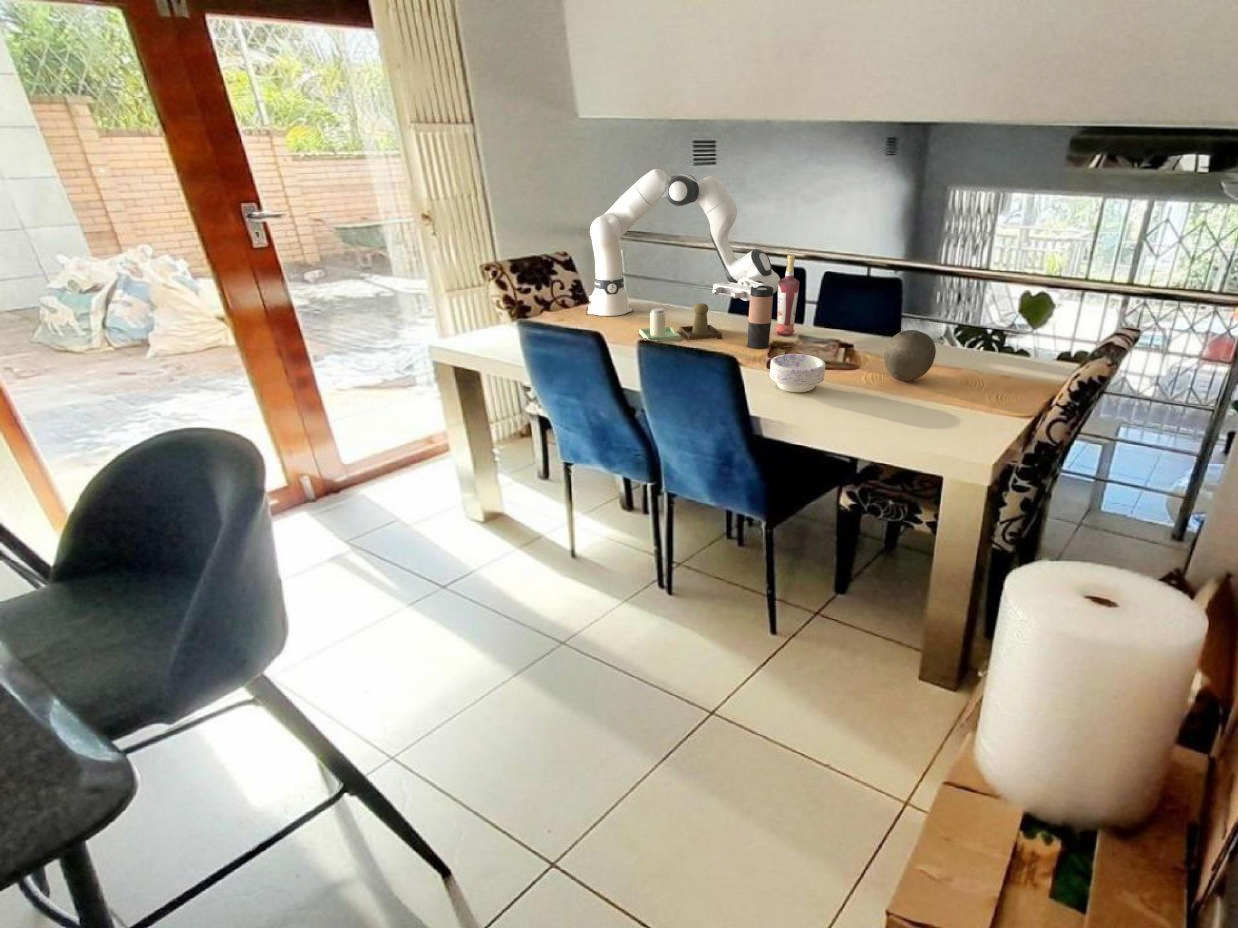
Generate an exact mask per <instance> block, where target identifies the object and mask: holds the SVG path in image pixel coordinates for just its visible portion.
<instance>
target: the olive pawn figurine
mask: <svg viewBox="0 0 1238 928" xmlns="http://www.w3.org/2000/svg"><path fill="white" fill-rule="evenodd" d="M693 312H694V319H693V325H692V326H693V331H692V335H700V334H708V325H709V323H708V312H709V306H708V304H707V303H700V302H699V303H696V304H695V305H694V306H693Z"/></svg>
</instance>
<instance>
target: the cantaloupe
mask: <svg viewBox="0 0 1238 928" xmlns="http://www.w3.org/2000/svg"><path fill="white" fill-rule="evenodd" d="M886 345H887V346H886V348H885V350H884V353H883V362H884V365H885V368H886V371H887V372H888V373H889V375H890V376H891V377H893V378H894V379H895V380H897V381H901V382H911V381H914V380H917V379H920V378H922V377H924V375H926V374H927V373H928V372H929V371H930V369H931V367H932V366H933V364H934V362H935V359H936V354H937V349H936V345H935V342H934V340H933V338H932V337H931V336H930V335H929V334H927V333H925V332H923V331H920V330H917V329H906V330H901V331H899V332H898V333H896V334H894V335H893V336H892V337H891V339H890V340H888V343H887V344H886ZM910 380H911V381H910Z"/></svg>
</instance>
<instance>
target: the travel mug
mask: <svg viewBox="0 0 1238 928" xmlns="http://www.w3.org/2000/svg"><path fill="white" fill-rule="evenodd" d="M773 298H774V293H773V287H771V286H758V287H756V288H754V287H751V292H750V300H749V307H748V324H747V347H749V348H751V349H754V350H755V349H756V350H761V349H762V350H763V349H767V348H769V345H770V339H771V338H770V337H771V327H772V318H773V317H772V316H773V302H774V301H773V300H774V299H773Z"/></svg>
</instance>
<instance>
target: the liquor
mask: <svg viewBox="0 0 1238 928" xmlns="http://www.w3.org/2000/svg"><path fill="white" fill-rule="evenodd" d="M795 260H796V255H795V254H787V255H786V269H785V276H784V277H783V278H780V281H779V282H778V290H777V311H776V312H777V313H776V314H777V315H776V328H775V333H776V334H777V335H778V336H782V337H788V336H791V335H792V334H794V333H795V329H794V327H795V319H796V311H797V303H798V299H799V289H800V281H799V280H798V279H796V277H795V276H794V274H795V272H794V270H795V262H796V261H795Z"/></svg>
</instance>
